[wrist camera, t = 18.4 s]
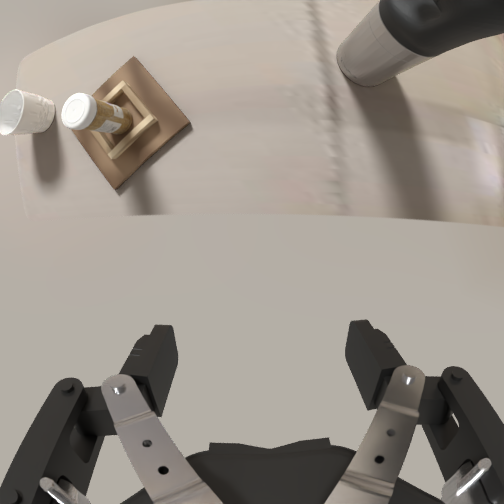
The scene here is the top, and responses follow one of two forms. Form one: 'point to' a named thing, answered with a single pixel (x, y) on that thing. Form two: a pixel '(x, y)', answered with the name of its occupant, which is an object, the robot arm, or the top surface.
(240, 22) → the top surface
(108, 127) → the sprinkles bottle
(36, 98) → the white cup
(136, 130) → the holder board
